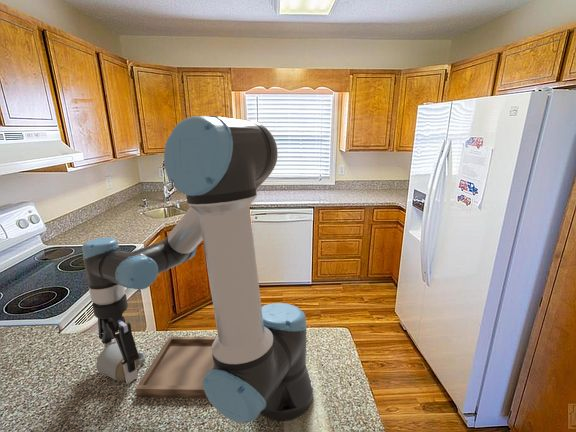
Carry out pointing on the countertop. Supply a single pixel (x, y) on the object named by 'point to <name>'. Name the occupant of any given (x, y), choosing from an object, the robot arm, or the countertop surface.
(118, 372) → the ceramic mug
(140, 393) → the walnut tray
